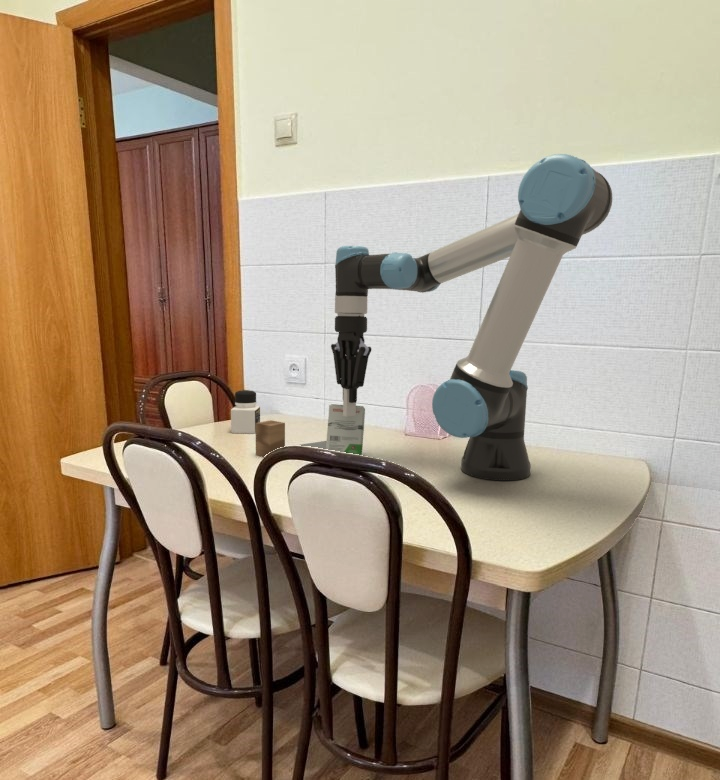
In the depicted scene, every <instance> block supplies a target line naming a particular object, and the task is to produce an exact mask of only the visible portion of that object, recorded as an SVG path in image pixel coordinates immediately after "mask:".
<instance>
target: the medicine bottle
mask: <svg viewBox="0 0 720 780" xmlns="http://www.w3.org/2000/svg"><path fill="white" fill-rule="evenodd" d="M234 399H235V400H234V405H235V406H233V407H232V408H231V409H230V432H231V434H244V433H252V434H251V435H254V434H255V435H256V423H259V422H261V406H260V405H257V392H255V391H254V390H250V389H249V390H248V389H247V390H246V389H243V390H237V391H236V392H235V393H234Z"/></svg>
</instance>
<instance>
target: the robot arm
mask: <svg viewBox="0 0 720 780" xmlns="http://www.w3.org/2000/svg"><path fill="white" fill-rule="evenodd" d="M518 187H519V188H518V191H517V199H518V205H519V209H520V210H519V212H518V213H517V214H516V215H512V216H510V217H508V218H506V219H503V220H502V221H499V222H497V223H495V224H492V225H491V226H488V227H486V228H483V229H481V230H478V231H476V232H475V233H472V234H470V235H468V236H465V237H463V238H460V239H457V240H456V241H453V242H451V243H449V244H447V245H444V246H442V247H440V248H438V249H435V250H433V251H431V252H428V253H426V254H424V255H422V256H419V257H413V256H412V255H411V253H408V252H407V253H406V252H405V253H404V252H392V253H381V254H370V252H369V248H367V247H366V246H360V245H343V246H340V247H338V248H337V250H336V252H335V253H336V254H335V264H334V268H335V273H334V274H335V294H334V295H335V296H334V297H335V298H334V313H335V314H337V316H335V317H334V331H335V332H336V333H338V336H337V342H335V343H331V344H330V348H331V350H332V351H331V352H332V355H333V361H334V362H333V363H334V370H335V378H336V383H337V385H340V386H341V388H342V401H343V403H342V405H343V416H346V417H348V416H356V406H357V401H358V389H360V388H361V387H363V386H364V384H365V378H366V374H367V373H366V372H367V368H368V367H367V366H368V361H369V357H370V354H371V352H372V347H371V346H368V345H366V344H365V342H366V341H365V337H364V334H365V333H367V331H368V317H367V316H365V315H367V314H368V297H369V296H368V294H369V290H375V289H376V290H398V291H407V292H408V291H410V292H418V293H422V294H423V293H428V292H434V291H436V290H437V289H438V288H439V287H440V286H441V284H443V283H445V282H449V281H450V280H454V279H456V278H458V277H462V276H465V275H466V274H469V273H471V272H473V271H477V270H479V269H482V268H485V267H488V266H490V265H492V264H495V263H497V262H500V261H502V260H504V259H508V260H507V263H506V265H505V268H504V270H503V272H502V275H501V277H500V279H499V281H498V284H497V287H496V289H495V291H494V294H493V296H492V298H491V301H490V304H489V306H488V308H487V310H486V312H485V315H484V317H483V320H482V323H481V324H480V327H479V329H478V331H477V334H476V337H475V339H474V341H473V344H472V346H471V348H470V349H469V352H468V355H467V356H466V357H464V358H461V359H458V360H457V362H456V364H455V367H454V369H453V371H452V373H451V375H450V378H449V379H448V380H446V381H443V383H441V384H440V385H439V386H438V387H436V390H435V392H434V394H433V397H432V402H431V403H432V404H431V405H432V406H431V407H432V413H433V415H434V417H435V421H436V423H437V424H438V426H439V427H440V428H441V429H442V430H443V431H444V432H446V434H447V435H449V436H451V437H455V438H460V439H466V438H469V439H468V441H467V444H466V446H465V450H464V451H463V456H462V457H461V462H460V470H461V471H462V472H463V473H464V474H466V475H469V476H471V477H474V478H477V479H478V478H479V479H485V480H492V481H517V480H524V479H526V478H529V477H530V476H531V470H532V469H531V468H532V467H531V465H532V463H531V462H530V459H529V455H528V449H527V446H526V442H525V427H526V411H527V398H528V397H527V396H528V393H527V392H528V389H529V388H528V376H527V374H526V373H525V372H523V371H520V370H515V369H514V370H513V366H514V364H515V361H516V360H517V357H518V355H519V353H520V351H521V348H522V346H523V344H524V342H525V339H526V337H527V336H528V333H529V331H530V328H531V327H532V324H533V323H534V319H535V318H536V315H537V313H538V311H539V309H540V307H541V305H542V303H543V300H544V298H545V296H546V293H547V291H548V289H549V286H550V284H551V283H552V281H553V278H554V276H555V274H556V272H557V269H558V268H559V265H560V262H561V260H562V258H563V256H564V255H565V254H566V253H569V252H571V251H572V250H574V249H577V246H578V245H579V243H580V240H581V238H582V236H583V235H586V234H588V233H590V232H592V231H594V230H595V229H597V228H599V226H600V225H602V223H604V221H605V220H606V219H607V218H608V215H609V213H610V212H611V208H612V206H613V191H612V187H611V185H610V183H609V181H608V180H607V178H606V177H605V176H604V175H603V174H601V173H600V172H598V171H596V170H595V169H594V168H593V167H592V166H591V165H590V164H589V163H588V162H586V160H585V159H581V158H579V157H577V156H574V155H571V154H567V153H557V154H551V155H548V156H546V157H543V158H542V159H540V160H538V161H537V162H535V163H534V164H533V165H532V166H531V167H530V168H529V169H528V170H527V171H526V172H525V174H524V176H523V178H522V179H521V181H520V184H519V186H518Z"/></svg>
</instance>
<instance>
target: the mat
mask: <svg viewBox="0 0 720 780" xmlns="http://www.w3.org/2000/svg"><path fill="white" fill-rule="evenodd" d="M326 443H327V440H323V441H322V440H321V441H316V442H309V443H302V444H300V445H301V446H311V447H318V448H323V449H326Z"/></svg>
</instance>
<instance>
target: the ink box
mask: <svg viewBox="0 0 720 780" xmlns="http://www.w3.org/2000/svg"><path fill="white" fill-rule="evenodd" d="M365 416H366V408H365V407H364V406H363V405H356V416H348V417H346V416H343V404H332V403H331V404H329V405H328V419H327V420H328V421H327V432H326V441H327V443H326V449H328V450H335V451H340V452H346V453H353V454H359V455H358V456H362V455H363V445H364V433H365V432H364V431H365V430H364V429H365V418H366V417H365Z"/></svg>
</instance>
